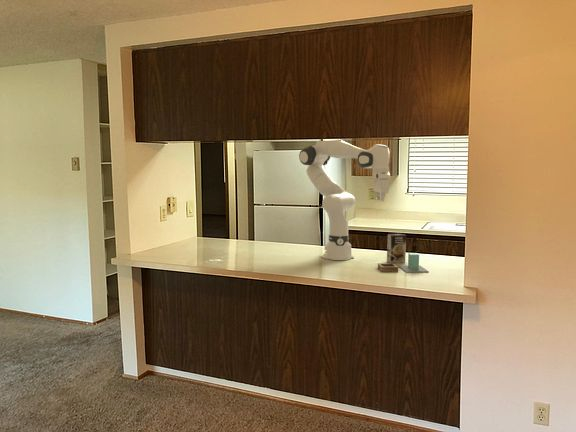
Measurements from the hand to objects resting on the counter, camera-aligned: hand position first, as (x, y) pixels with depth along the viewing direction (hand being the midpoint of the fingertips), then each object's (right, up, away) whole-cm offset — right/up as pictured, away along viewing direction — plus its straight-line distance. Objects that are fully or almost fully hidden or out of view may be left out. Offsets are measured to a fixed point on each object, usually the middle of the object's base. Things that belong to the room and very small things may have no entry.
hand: (380, 200), depth 265 cm
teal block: (+18, -37, 0) cm, 41 cm away
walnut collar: (+4, -37, 0) cm, 38 cm away
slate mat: (+18, -37, 0) cm, 41 cm away
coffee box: (+13, -35, +20) cm, 43 cm away
